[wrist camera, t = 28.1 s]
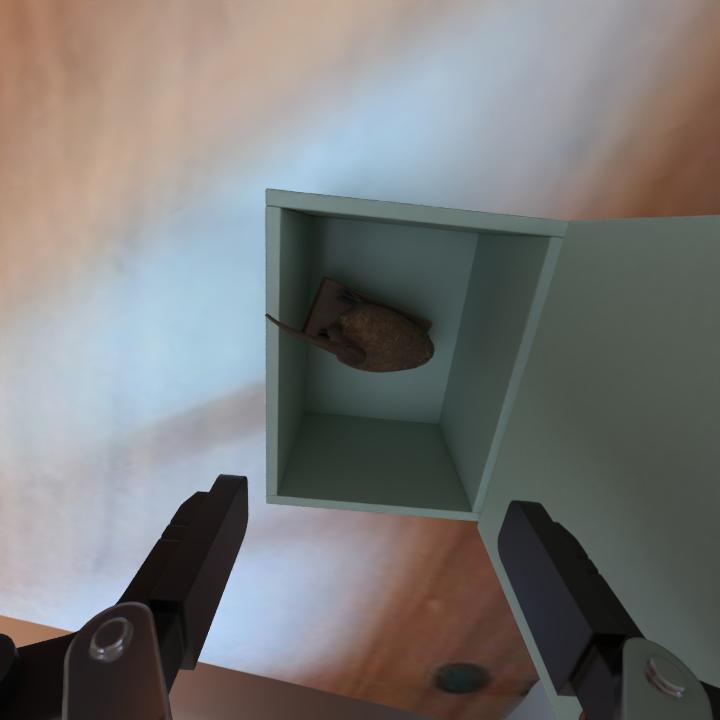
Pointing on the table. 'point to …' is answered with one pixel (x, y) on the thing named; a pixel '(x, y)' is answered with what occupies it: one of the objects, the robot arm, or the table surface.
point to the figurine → (364, 330)
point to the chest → (407, 387)
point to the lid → (627, 428)
